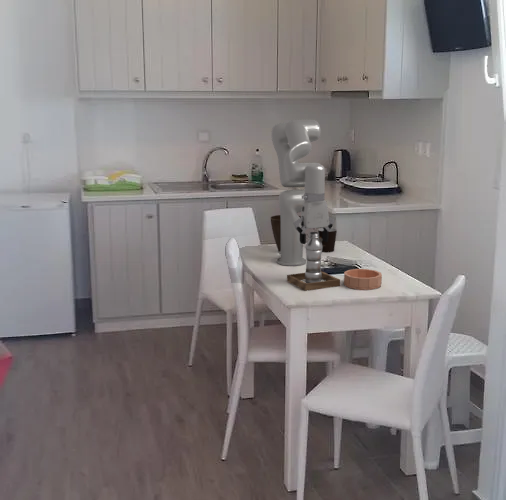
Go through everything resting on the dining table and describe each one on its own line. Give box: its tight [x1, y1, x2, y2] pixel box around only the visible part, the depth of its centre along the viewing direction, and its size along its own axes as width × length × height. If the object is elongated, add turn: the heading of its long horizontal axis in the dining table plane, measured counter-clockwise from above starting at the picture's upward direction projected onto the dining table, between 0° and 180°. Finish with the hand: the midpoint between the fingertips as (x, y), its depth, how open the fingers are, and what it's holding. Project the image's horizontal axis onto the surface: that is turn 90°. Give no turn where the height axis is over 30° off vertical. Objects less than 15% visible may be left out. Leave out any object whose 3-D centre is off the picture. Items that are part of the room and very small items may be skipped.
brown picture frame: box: [286, 270, 341, 292], centre depth 271 cm, size 15×15×2 cm
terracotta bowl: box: [343, 268, 383, 291], centre depth 268 cm, size 14×14×4 cm
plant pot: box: [270, 214, 301, 253], centre depth 322 cm, size 15×15×16 cm
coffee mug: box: [317, 227, 338, 253], centre depth 325 cm, size 12×9×10 cm
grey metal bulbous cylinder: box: [304, 231, 323, 283], centre depth 269 cm, size 6×7×20 cm
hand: (314, 242), depth 267 cm, fingers open, 9 cm apart
